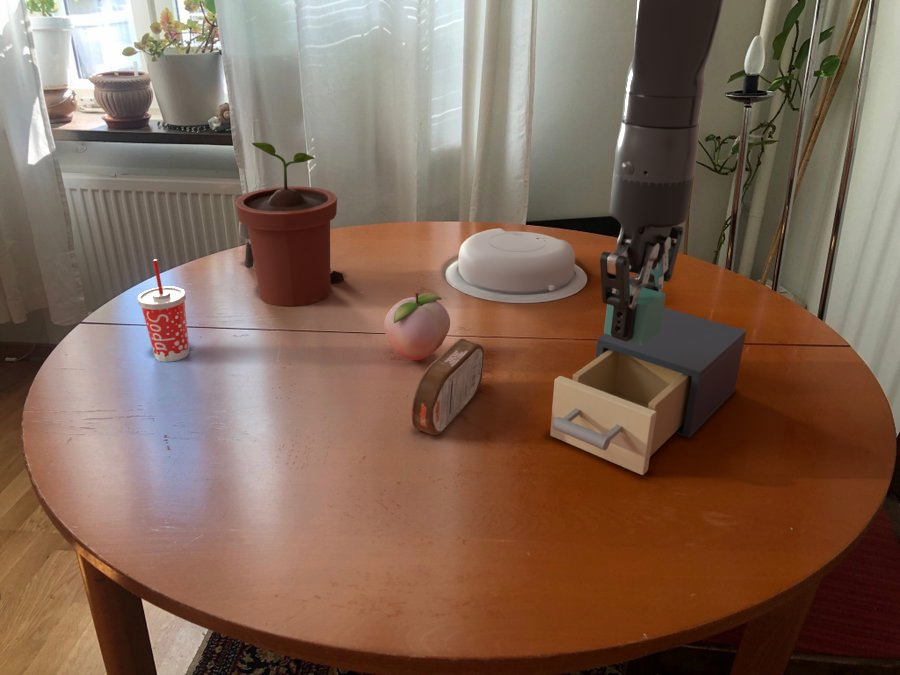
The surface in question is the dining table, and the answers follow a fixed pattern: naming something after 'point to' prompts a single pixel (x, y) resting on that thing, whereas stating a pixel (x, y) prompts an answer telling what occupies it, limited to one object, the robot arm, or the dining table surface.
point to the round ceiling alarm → (516, 267)
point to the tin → (447, 386)
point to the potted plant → (289, 239)
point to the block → (643, 316)
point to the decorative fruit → (417, 326)
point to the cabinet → (691, 359)
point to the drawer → (620, 408)
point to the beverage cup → (165, 320)
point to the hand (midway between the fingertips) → (632, 329)
